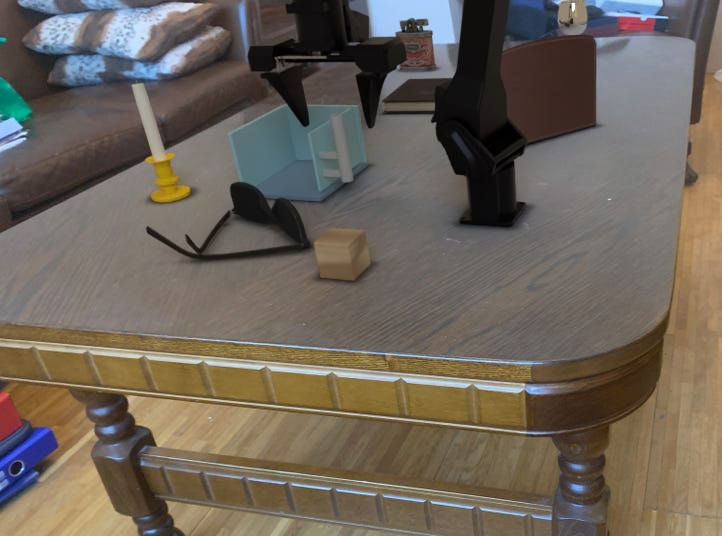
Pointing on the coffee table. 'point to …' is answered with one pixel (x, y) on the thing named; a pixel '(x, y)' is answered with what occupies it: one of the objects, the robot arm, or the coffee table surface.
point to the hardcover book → (413, 97)
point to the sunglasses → (256, 209)
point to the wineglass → (572, 17)
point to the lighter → (417, 45)
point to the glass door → (334, 149)
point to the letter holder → (551, 85)
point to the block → (342, 254)
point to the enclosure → (287, 152)
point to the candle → (158, 152)
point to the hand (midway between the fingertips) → (338, 126)
